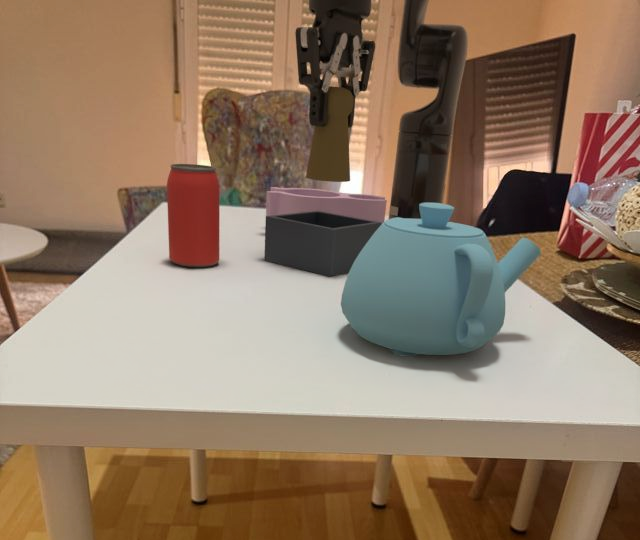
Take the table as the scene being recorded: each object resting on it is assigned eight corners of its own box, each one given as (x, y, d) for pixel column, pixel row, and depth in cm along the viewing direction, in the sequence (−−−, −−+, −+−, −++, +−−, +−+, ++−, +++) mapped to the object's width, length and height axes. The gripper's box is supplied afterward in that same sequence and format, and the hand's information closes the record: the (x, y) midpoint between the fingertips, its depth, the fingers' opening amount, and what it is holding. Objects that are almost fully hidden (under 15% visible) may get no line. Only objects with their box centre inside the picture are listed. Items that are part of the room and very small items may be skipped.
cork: (350, 183, 82) (358, 87, 77) (304, 179, 82) (309, 84, 77) (349, 178, 87) (357, 88, 82) (306, 175, 87) (311, 85, 82)
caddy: (314, 251, 96) (317, 210, 94) (377, 265, 91) (382, 222, 88) (264, 260, 88) (265, 216, 85) (330, 276, 82) (333, 229, 79)
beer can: (193, 270, 79) (191, 169, 74) (158, 261, 83) (154, 163, 77) (229, 264, 84) (230, 168, 79) (196, 255, 88) (194, 163, 82)
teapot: (308, 312, 66) (317, 186, 61) (468, 307, 73) (489, 193, 68) (391, 384, 50) (414, 221, 44) (587, 368, 57) (627, 225, 51)
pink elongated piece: (379, 234, 115) (383, 194, 112) (383, 247, 104) (388, 203, 101) (270, 225, 115) (272, 185, 111) (263, 237, 103) (264, 193, 100)
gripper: (332, -48, 67) (321, 128, 74) (400, -22, 77) (384, 130, 85) (278, -44, 71) (273, 123, 78) (351, -19, 81) (340, 125, 89)
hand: (331, 126), depth 81 cm, fingers closed on cork, 5 cm apart
